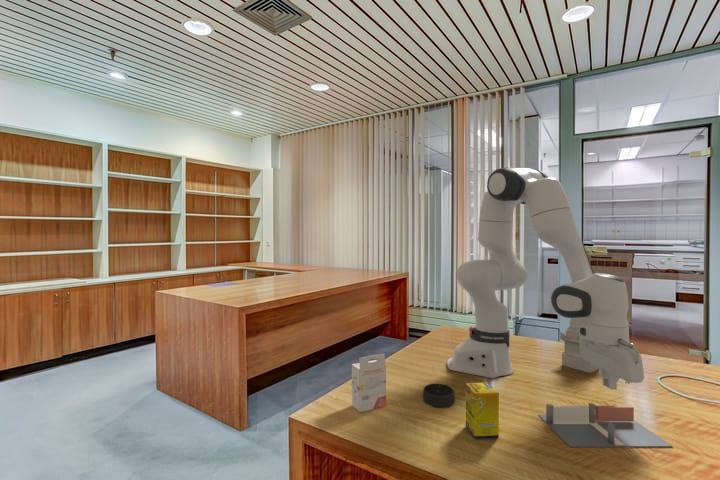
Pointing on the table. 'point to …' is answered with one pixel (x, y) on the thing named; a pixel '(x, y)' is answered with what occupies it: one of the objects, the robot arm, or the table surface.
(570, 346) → the miniature monument
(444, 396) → the smart speaker
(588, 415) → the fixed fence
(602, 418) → the fence panel
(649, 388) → the table surface
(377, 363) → the ink cartridge box
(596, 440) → the card
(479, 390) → the supplement box
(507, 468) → the table surface
